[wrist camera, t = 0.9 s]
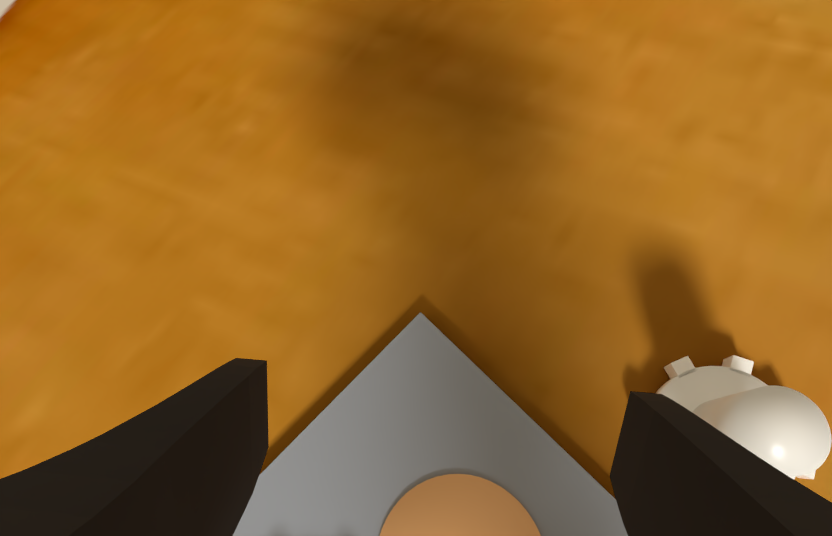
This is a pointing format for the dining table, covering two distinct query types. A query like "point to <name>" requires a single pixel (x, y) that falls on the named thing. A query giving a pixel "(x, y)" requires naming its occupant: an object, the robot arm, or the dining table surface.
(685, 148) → the dining table surface
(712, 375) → the planet gear
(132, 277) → the dining table surface
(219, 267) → the dining table surface
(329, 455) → the plate
